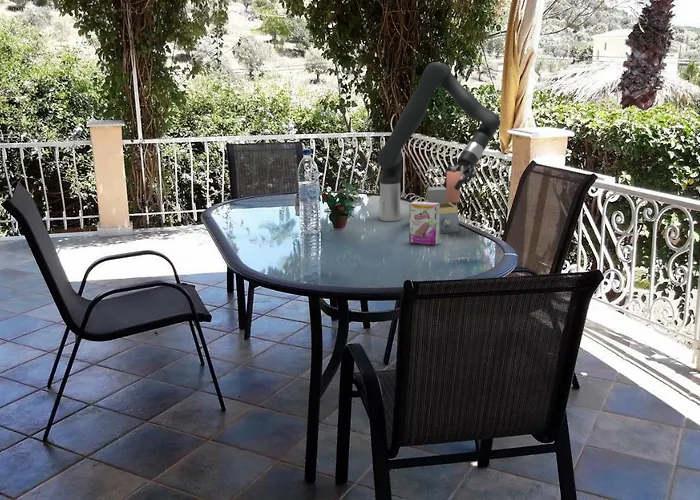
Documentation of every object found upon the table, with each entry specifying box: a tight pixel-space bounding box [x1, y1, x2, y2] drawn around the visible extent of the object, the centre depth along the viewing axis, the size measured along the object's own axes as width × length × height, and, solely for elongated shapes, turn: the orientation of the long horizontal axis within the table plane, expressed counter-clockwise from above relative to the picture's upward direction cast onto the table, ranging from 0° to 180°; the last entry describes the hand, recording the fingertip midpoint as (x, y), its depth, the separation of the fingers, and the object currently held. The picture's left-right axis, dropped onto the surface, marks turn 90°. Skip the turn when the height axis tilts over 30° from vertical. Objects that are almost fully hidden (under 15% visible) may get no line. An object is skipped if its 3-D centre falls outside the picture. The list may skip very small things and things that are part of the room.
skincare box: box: [427, 186, 448, 203], centre depth 291 cm, size 8×7×16 cm
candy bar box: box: [408, 200, 440, 247], centre depth 257 cm, size 11×5×16 cm, turn 65°
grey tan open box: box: [439, 202, 460, 234], centre depth 278 cm, size 11×16×10 cm
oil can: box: [446, 167, 461, 204], centre depth 264 cm, size 6×6×14 cm
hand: (450, 187), depth 264 cm, fingers closed on oil can, 5 cm apart
